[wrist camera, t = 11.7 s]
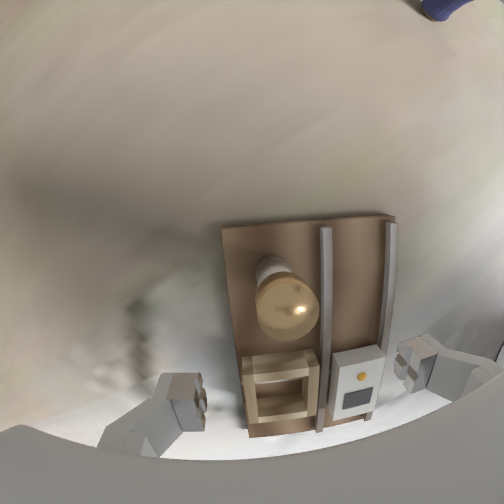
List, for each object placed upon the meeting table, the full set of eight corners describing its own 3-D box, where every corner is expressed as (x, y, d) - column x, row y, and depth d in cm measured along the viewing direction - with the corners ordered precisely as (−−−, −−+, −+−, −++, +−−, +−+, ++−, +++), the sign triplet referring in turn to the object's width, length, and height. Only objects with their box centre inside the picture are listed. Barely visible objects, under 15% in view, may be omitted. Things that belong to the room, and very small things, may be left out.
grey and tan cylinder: (292, 249, 23) (319, 281, 15) (293, 288, 24) (319, 336, 16) (249, 252, 23) (254, 288, 15) (253, 292, 24) (259, 344, 16)
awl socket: (312, 348, 25) (319, 365, 23) (310, 397, 27) (316, 415, 24) (241, 356, 25) (242, 375, 22) (248, 405, 27) (249, 423, 24)
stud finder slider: (376, 344, 25) (388, 359, 22) (366, 397, 27) (375, 413, 24) (332, 353, 25) (341, 370, 22) (327, 406, 27) (333, 423, 24)
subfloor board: (387, 214, 24) (400, 217, 22) (365, 409, 30) (371, 421, 28) (222, 227, 24) (220, 231, 22) (248, 429, 30) (249, 443, 27)
